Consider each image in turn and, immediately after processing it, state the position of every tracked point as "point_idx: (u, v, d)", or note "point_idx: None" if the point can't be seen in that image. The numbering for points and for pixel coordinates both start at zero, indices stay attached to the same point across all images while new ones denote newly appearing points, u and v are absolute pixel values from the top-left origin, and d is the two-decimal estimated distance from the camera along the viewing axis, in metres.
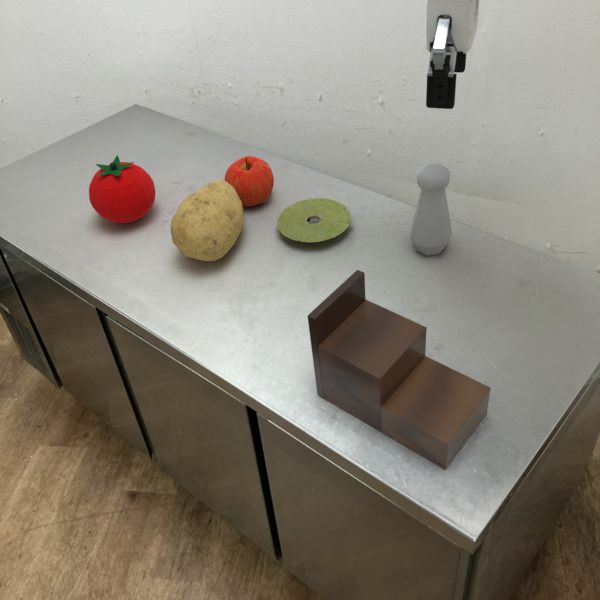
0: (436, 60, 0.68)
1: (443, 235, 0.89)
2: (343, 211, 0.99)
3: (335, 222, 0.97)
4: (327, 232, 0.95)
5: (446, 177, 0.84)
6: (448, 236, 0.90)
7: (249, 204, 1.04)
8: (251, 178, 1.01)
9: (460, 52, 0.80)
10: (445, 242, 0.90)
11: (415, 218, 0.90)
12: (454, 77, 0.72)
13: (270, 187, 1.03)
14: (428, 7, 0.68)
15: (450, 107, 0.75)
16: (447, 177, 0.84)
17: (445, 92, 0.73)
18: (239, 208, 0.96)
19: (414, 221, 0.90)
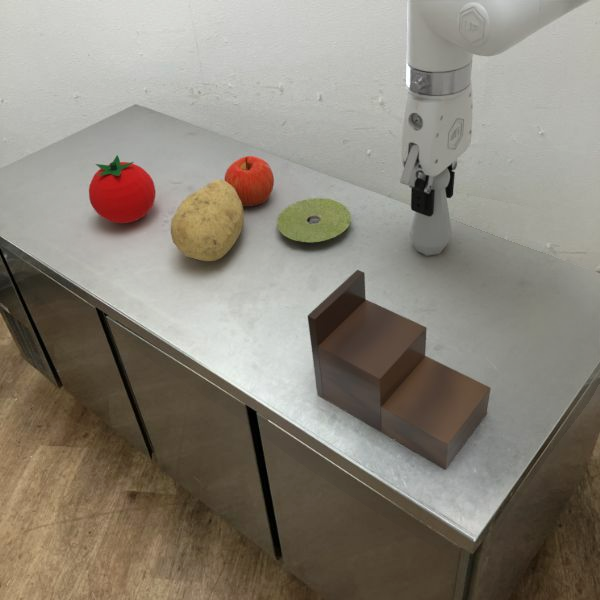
0: None
1: (443, 235, 0.89)
2: (343, 211, 0.99)
3: (335, 222, 0.97)
4: (327, 232, 0.95)
5: (446, 177, 0.84)
6: (448, 236, 0.90)
7: (249, 204, 1.04)
8: (251, 178, 1.01)
9: None
10: (445, 242, 0.90)
11: (415, 218, 0.90)
12: (431, 193, 0.84)
13: (270, 187, 1.03)
14: (402, 133, 0.79)
15: (429, 215, 0.86)
16: (447, 177, 0.84)
17: (422, 203, 0.85)
18: (239, 208, 0.96)
19: (414, 221, 0.90)
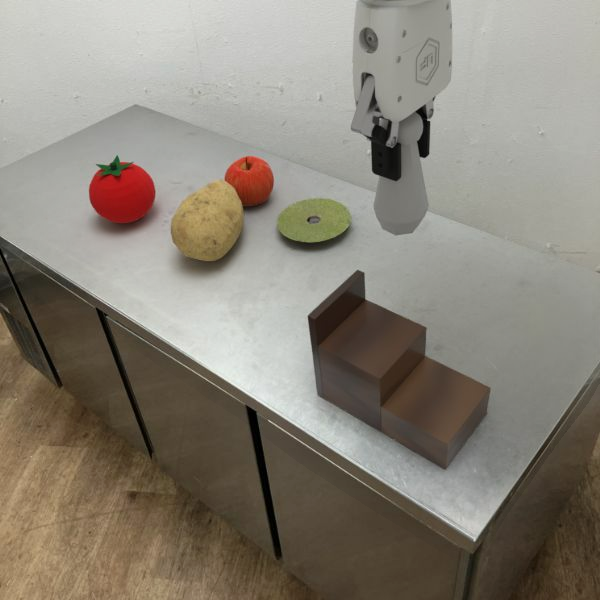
0: None
1: (416, 207, 0.67)
2: (343, 211, 0.99)
3: (335, 222, 0.97)
4: (327, 232, 0.95)
5: (417, 126, 0.62)
6: (423, 209, 0.68)
7: (249, 204, 1.04)
8: (251, 178, 1.01)
9: None
10: (419, 217, 0.68)
11: (379, 185, 0.67)
12: (396, 147, 0.61)
13: (270, 187, 1.03)
14: (353, 60, 0.56)
15: (395, 179, 0.64)
16: (418, 126, 0.62)
17: (385, 162, 0.63)
18: (239, 208, 0.96)
19: (378, 189, 0.68)
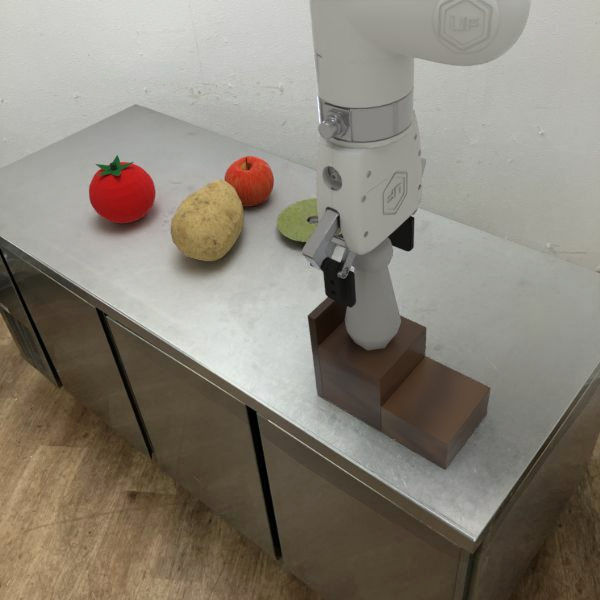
0: (310, 261, 0.54)
1: (388, 326, 0.65)
2: None
3: None
4: None
5: (387, 253, 0.60)
6: (395, 327, 0.66)
7: (249, 204, 1.04)
8: (251, 178, 1.01)
9: (404, 230, 0.63)
10: (391, 335, 0.66)
11: None
12: (349, 277, 0.57)
13: (270, 187, 1.03)
14: (317, 193, 0.54)
15: (349, 305, 0.60)
16: (388, 253, 0.60)
17: (338, 290, 0.58)
18: (239, 208, 0.96)
19: None
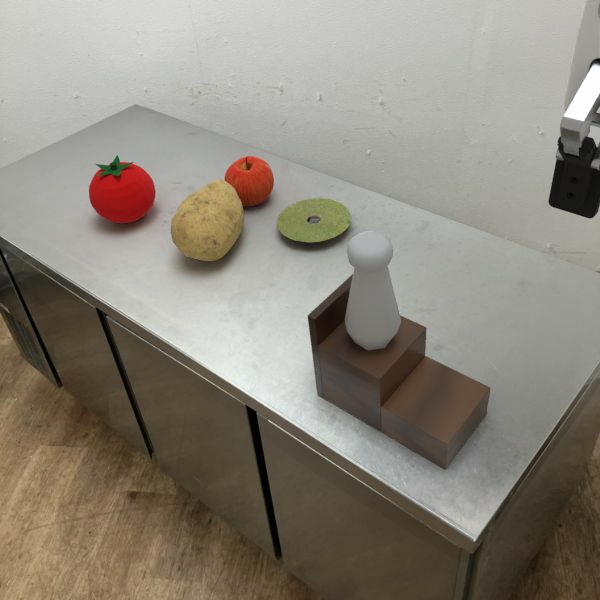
0: (566, 139, 0.38)
1: (388, 326, 0.65)
2: (343, 211, 0.99)
3: (335, 222, 0.97)
4: (327, 232, 0.95)
5: (387, 253, 0.60)
6: (395, 327, 0.66)
7: (249, 204, 1.04)
8: (251, 178, 1.01)
9: None
10: (391, 335, 0.66)
11: (349, 303, 0.65)
12: None
13: (270, 187, 1.03)
14: (578, 41, 0.38)
15: (588, 215, 0.43)
16: (388, 253, 0.60)
17: (582, 191, 0.42)
18: (239, 208, 0.96)
19: (348, 306, 0.66)
